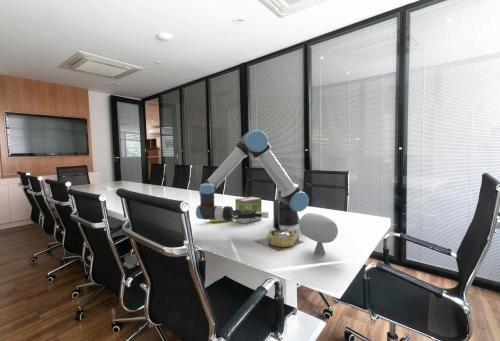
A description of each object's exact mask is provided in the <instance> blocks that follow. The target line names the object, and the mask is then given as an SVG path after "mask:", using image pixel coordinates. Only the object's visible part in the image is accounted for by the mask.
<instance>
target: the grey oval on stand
mask: <svg viewBox="0 0 500 341" xmlns="http://www.w3.org/2000/svg"><path fill="white" fill-rule="evenodd" d="M298 228H299V229H298V230H299V233H301V235H303V236H304V237H306V238H308V239H310V240H312V241H314V242H316V245H315V248H314V251H313V254H314V255H317V256H325V255H326V251H325V247H324V245H323V244H327V243H328V244H329V243H332V242H333V241H335V240H336V238H337V236H338V233H339V229H338V225H337V223H335V221H334V220H332V218H329V217H327V216H325V215H322V214H319V213H315V212H314V213H313V212H311V213H310V212H307V213H305V214H303V215H302V216H301V218H299V220H298Z"/></svg>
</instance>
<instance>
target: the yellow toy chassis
mask: <svg viewBox="0 0 500 341" xmlns="http://www.w3.org/2000/svg"><path fill="white" fill-rule="evenodd" d="M209 221H210V223H217V222H226V221H227V220H220V221H219V220H209ZM231 221H235V219H234V217H233V218H232V220H231Z"/></svg>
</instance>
